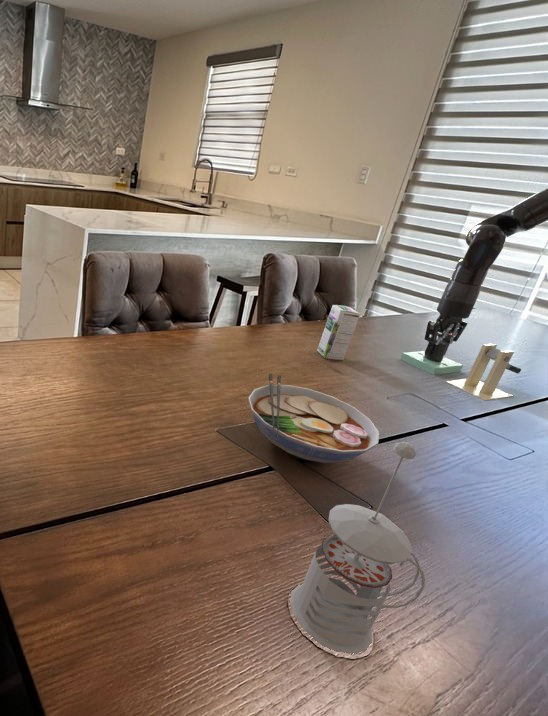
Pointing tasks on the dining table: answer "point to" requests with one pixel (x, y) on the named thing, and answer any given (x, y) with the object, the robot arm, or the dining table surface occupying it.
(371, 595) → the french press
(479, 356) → the wooden stand
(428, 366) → the panel
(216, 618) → the dining table surface
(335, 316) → the syrup box
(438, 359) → the black sushi roll
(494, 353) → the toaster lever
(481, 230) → the robot arm
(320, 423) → the ramen bowl
